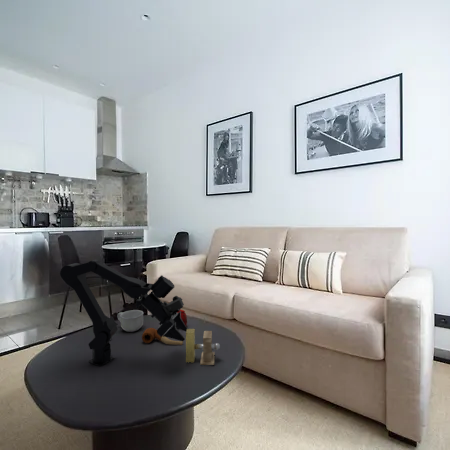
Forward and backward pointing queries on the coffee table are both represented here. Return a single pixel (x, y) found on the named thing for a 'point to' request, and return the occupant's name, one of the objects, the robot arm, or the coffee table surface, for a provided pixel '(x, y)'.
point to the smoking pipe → (157, 337)
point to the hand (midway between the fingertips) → (185, 335)
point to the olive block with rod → (194, 345)
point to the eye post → (207, 349)
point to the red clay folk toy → (183, 317)
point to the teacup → (131, 320)
